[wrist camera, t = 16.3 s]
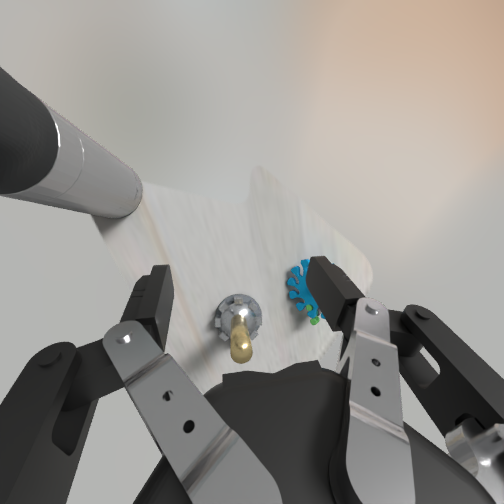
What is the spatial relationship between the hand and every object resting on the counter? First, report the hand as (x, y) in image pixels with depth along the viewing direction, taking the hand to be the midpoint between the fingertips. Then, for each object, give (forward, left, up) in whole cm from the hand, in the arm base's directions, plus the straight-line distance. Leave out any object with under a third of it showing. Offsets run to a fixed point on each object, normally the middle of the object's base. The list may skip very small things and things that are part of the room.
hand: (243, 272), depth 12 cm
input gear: (0, -11, -25) cm, 27 cm away
